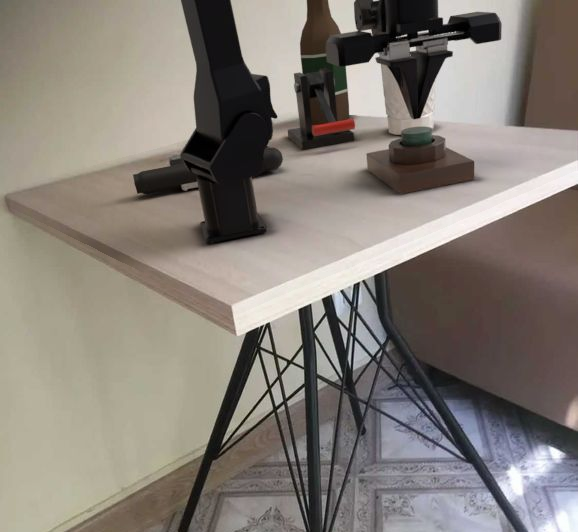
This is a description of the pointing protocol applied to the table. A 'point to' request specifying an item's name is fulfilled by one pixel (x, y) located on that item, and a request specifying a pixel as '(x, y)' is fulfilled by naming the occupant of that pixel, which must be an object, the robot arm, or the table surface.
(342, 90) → the beer bottle
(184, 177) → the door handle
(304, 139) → the bracket
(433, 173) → the button block
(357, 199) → the table surface
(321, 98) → the lever
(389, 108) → the white cup
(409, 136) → the button
